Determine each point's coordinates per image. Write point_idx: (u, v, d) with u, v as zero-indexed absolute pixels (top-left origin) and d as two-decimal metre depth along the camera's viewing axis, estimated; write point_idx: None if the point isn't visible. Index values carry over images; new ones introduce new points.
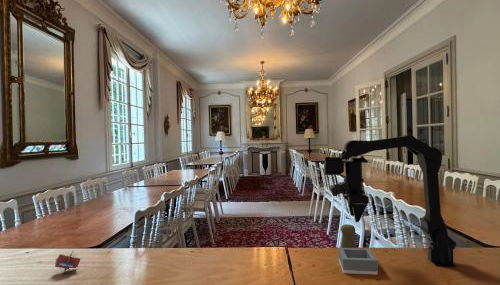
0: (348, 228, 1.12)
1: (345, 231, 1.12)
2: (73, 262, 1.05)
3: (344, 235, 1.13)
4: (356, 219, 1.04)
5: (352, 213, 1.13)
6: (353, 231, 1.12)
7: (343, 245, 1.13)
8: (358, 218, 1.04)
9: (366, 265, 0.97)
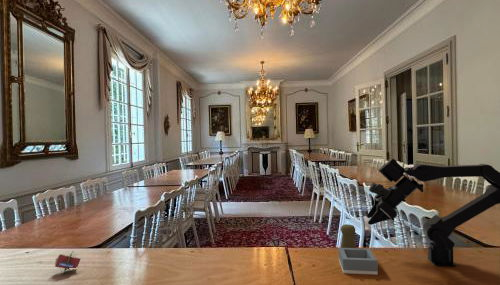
0: (348, 228, 1.12)
1: (345, 231, 1.12)
2: (73, 262, 1.05)
3: (344, 235, 1.13)
4: (370, 221, 1.07)
5: (369, 215, 1.16)
6: (353, 231, 1.12)
7: (343, 245, 1.13)
8: (372, 222, 1.06)
9: (366, 265, 0.97)
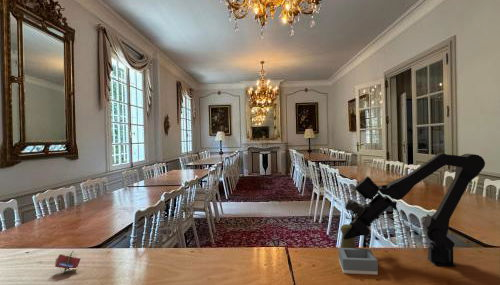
0: (348, 228, 1.12)
1: (344, 231, 1.12)
2: (73, 262, 1.05)
3: None
4: (345, 237, 1.11)
5: None
6: None
7: (343, 245, 1.13)
8: (347, 237, 1.11)
9: (366, 265, 0.97)
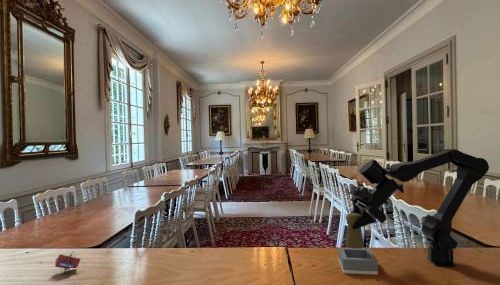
0: (356, 217, 1.02)
1: (353, 220, 1.02)
2: (73, 262, 1.05)
3: (351, 225, 1.03)
4: (354, 226, 1.01)
5: None
6: None
7: (351, 236, 1.03)
8: (357, 226, 1.01)
9: (366, 265, 0.97)
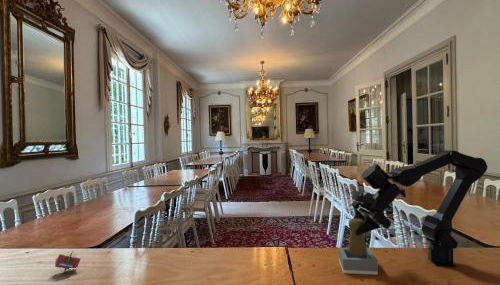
0: (359, 222, 1.00)
1: (356, 226, 1.00)
2: (73, 262, 1.05)
3: (355, 231, 1.01)
4: (358, 232, 0.99)
5: None
6: None
7: (354, 242, 1.01)
8: (360, 232, 0.99)
9: (366, 265, 0.97)
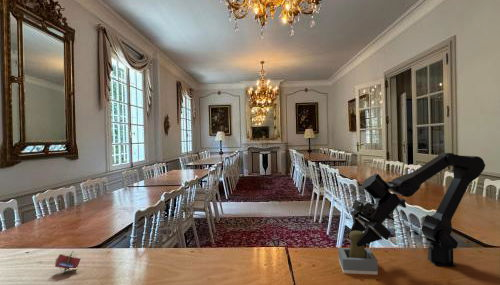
0: (360, 235, 1.00)
1: (357, 239, 1.00)
2: (73, 262, 1.05)
3: (355, 243, 1.01)
4: (359, 243, 0.98)
5: None
6: None
7: (354, 255, 1.01)
8: (361, 243, 0.98)
9: (366, 265, 0.97)
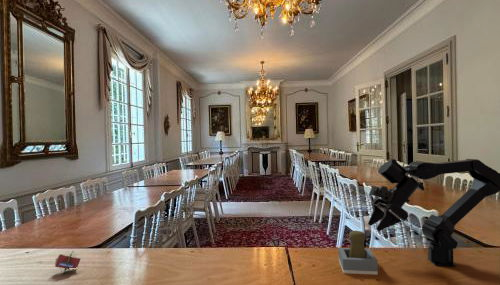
0: (360, 235, 1.00)
1: (357, 239, 1.00)
2: (73, 262, 1.05)
3: (355, 243, 1.01)
4: (379, 227, 0.99)
5: (370, 223, 1.08)
6: (364, 238, 1.01)
7: (354, 255, 1.01)
8: (381, 227, 0.99)
9: (366, 265, 0.97)
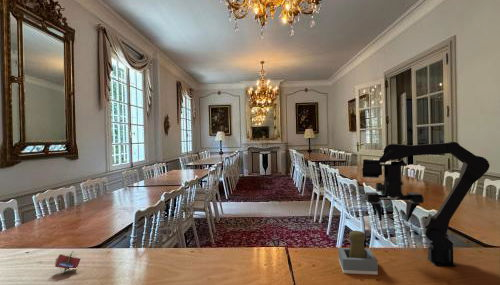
0: (360, 235, 1.00)
1: (357, 239, 1.00)
2: (73, 262, 1.05)
3: (355, 243, 1.01)
4: None
5: (406, 219, 1.10)
6: (364, 238, 1.01)
7: (354, 255, 1.01)
8: None
9: (366, 265, 0.97)
